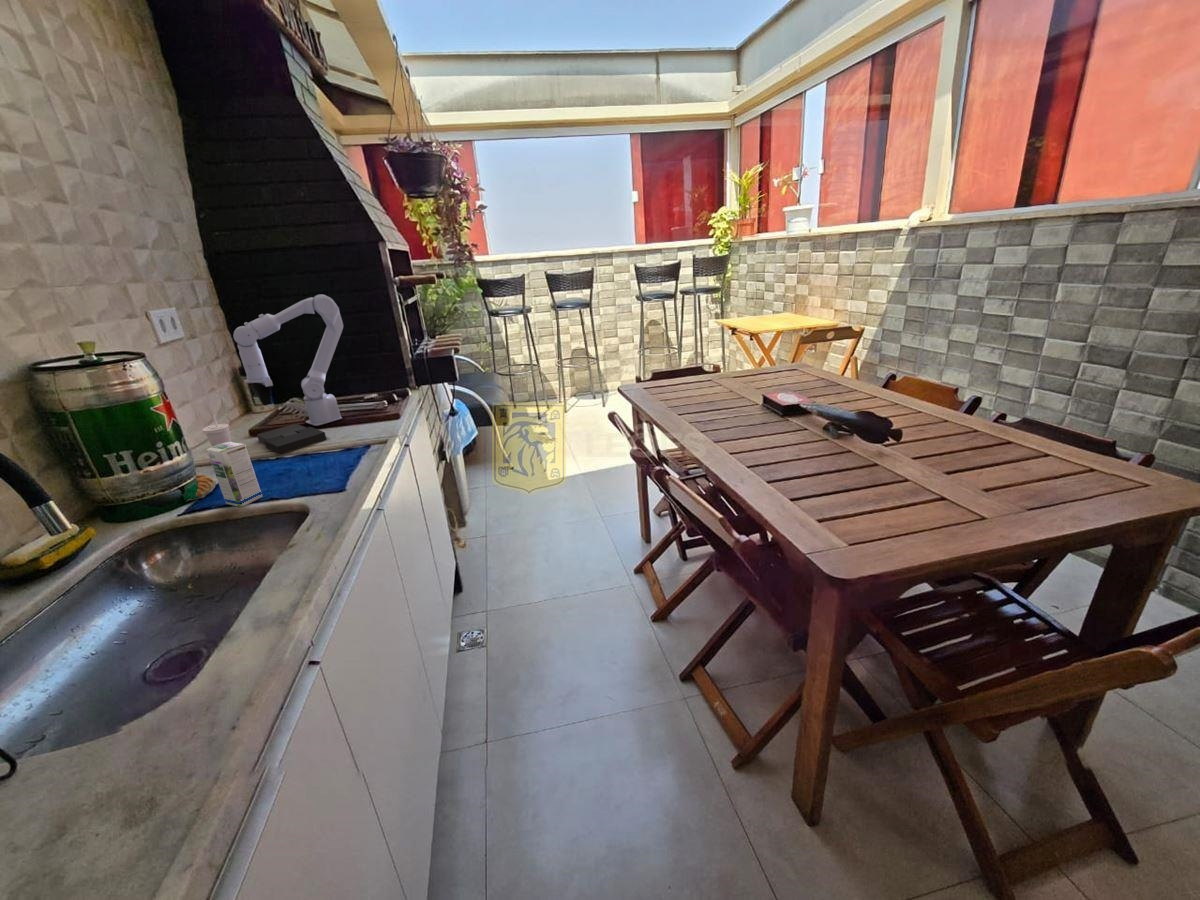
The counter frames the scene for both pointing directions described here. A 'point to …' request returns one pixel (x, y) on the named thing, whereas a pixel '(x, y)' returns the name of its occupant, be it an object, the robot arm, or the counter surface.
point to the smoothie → (217, 433)
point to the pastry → (204, 486)
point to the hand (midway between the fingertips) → (267, 404)
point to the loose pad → (280, 432)
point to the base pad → (295, 440)
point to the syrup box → (234, 472)
